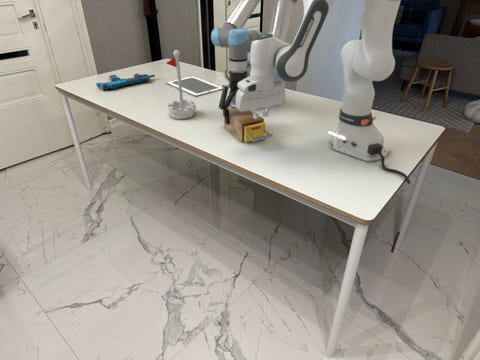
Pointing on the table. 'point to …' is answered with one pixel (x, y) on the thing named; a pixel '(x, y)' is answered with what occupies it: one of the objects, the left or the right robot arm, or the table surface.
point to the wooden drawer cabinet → (240, 122)
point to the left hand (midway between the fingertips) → (238, 121)
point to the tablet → (195, 86)
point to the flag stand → (180, 95)
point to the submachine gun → (123, 81)
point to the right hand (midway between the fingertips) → (260, 117)
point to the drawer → (255, 132)
